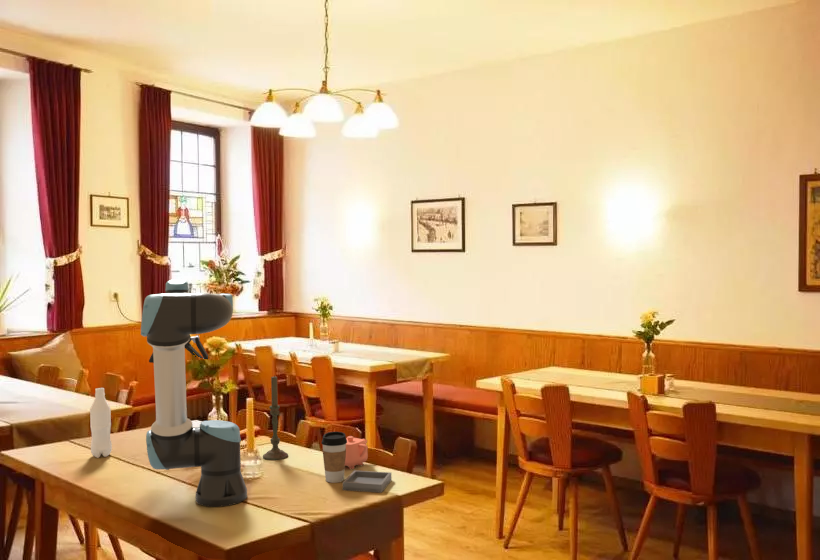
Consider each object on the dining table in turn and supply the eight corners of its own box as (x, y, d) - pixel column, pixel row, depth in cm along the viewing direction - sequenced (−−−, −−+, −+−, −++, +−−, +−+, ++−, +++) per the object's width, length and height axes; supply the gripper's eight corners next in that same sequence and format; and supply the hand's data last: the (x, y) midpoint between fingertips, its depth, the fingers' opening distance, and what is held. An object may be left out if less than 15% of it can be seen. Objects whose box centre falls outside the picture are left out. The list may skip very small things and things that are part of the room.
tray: (381, 492, 227) (381, 484, 227) (342, 490, 229) (342, 482, 229) (391, 480, 239) (391, 472, 239) (354, 477, 242) (354, 470, 242)
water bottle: (88, 455, 271) (86, 388, 270) (107, 452, 276) (106, 386, 275) (94, 459, 266) (93, 391, 265) (114, 455, 271) (113, 388, 270)
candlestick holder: (276, 461, 261) (275, 377, 260) (257, 457, 266) (256, 375, 265) (293, 455, 269) (292, 374, 268) (274, 452, 274) (273, 372, 273)
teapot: (334, 460, 263) (333, 432, 262) (367, 459, 264) (367, 431, 263) (333, 472, 249) (332, 442, 248) (368, 471, 249) (367, 441, 249)
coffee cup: (349, 476, 244) (349, 431, 243) (345, 484, 235) (344, 438, 235) (324, 475, 244) (324, 431, 244) (319, 483, 236) (318, 437, 235)
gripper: (215, 319, 262) (216, 374, 267) (142, 320, 257) (145, 376, 263) (214, 326, 254) (215, 383, 260) (138, 327, 250) (141, 384, 256)
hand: (180, 379), depth 261 cm, fingers open, 13 cm apart
